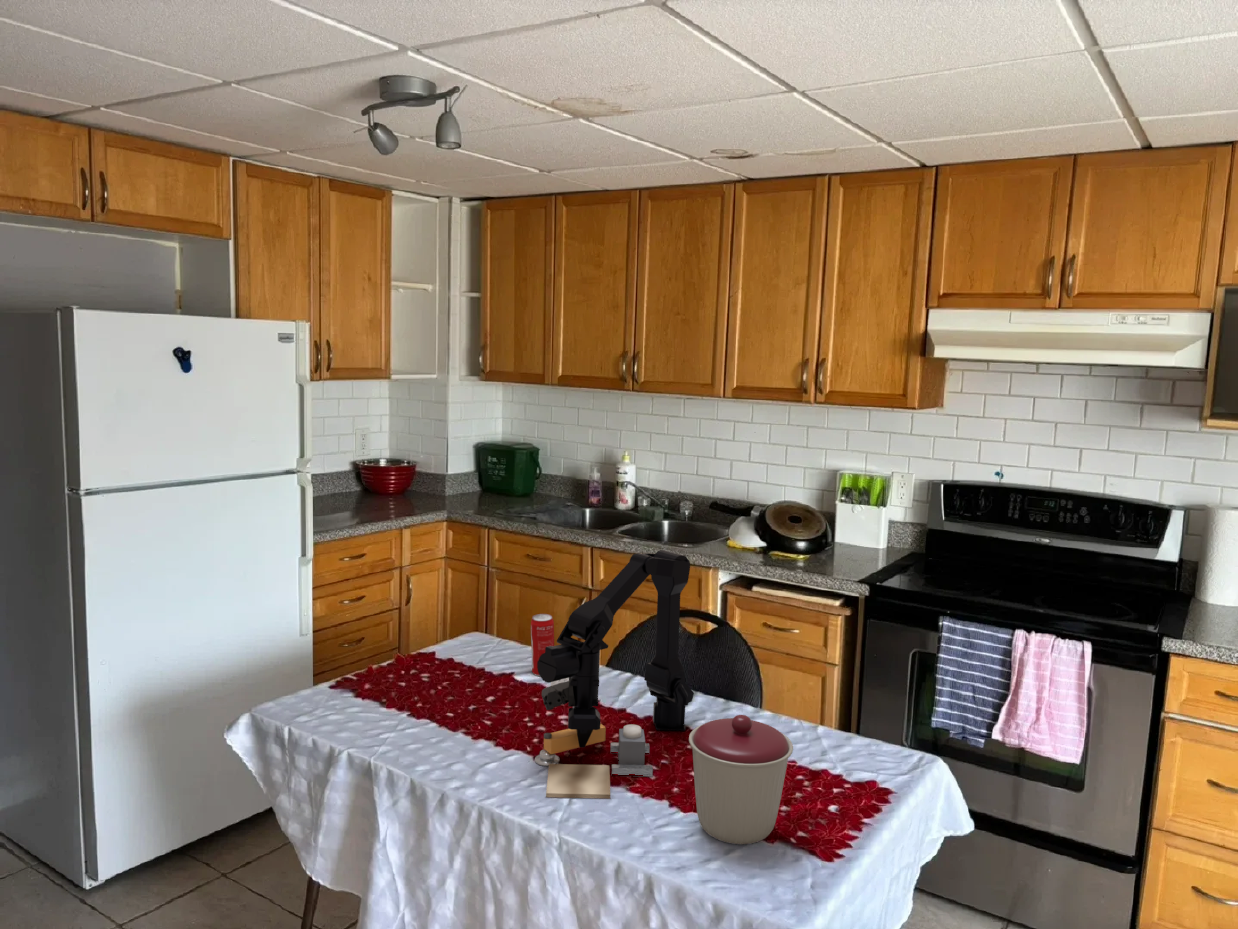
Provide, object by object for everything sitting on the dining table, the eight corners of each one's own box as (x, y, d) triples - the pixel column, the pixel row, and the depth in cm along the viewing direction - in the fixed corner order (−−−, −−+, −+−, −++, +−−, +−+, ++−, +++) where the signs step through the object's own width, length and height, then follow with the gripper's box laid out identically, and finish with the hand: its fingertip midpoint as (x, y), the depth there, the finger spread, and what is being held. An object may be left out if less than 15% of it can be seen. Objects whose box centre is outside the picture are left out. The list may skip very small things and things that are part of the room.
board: (609, 769, 187) (609, 765, 187) (610, 798, 175) (610, 794, 175) (548, 767, 187) (549, 764, 187) (546, 797, 175) (546, 793, 175)
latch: (597, 735, 198) (598, 719, 198) (605, 740, 196) (605, 724, 195) (540, 749, 190) (540, 732, 190) (547, 755, 188) (548, 738, 187)
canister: (669, 840, 162) (675, 724, 159) (703, 795, 178) (709, 689, 175) (772, 868, 154) (780, 747, 152) (797, 818, 171) (805, 708, 168)
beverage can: (558, 671, 240) (560, 614, 238) (545, 679, 234) (547, 621, 232) (538, 667, 242) (539, 611, 240) (525, 675, 236) (526, 617, 234)
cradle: (648, 750, 196) (649, 742, 196) (652, 776, 185) (652, 767, 185) (536, 748, 195) (536, 739, 195) (532, 773, 184) (533, 765, 184)
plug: (642, 757, 193) (643, 722, 192) (643, 770, 188) (645, 734, 186) (618, 756, 193) (619, 721, 192) (619, 769, 187) (620, 734, 186)
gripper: (545, 657, 198) (543, 729, 199) (543, 687, 179) (540, 765, 181) (598, 658, 198) (595, 730, 200) (601, 688, 180) (598, 766, 181)
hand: (582, 747), depth 190 cm, fingers closed
